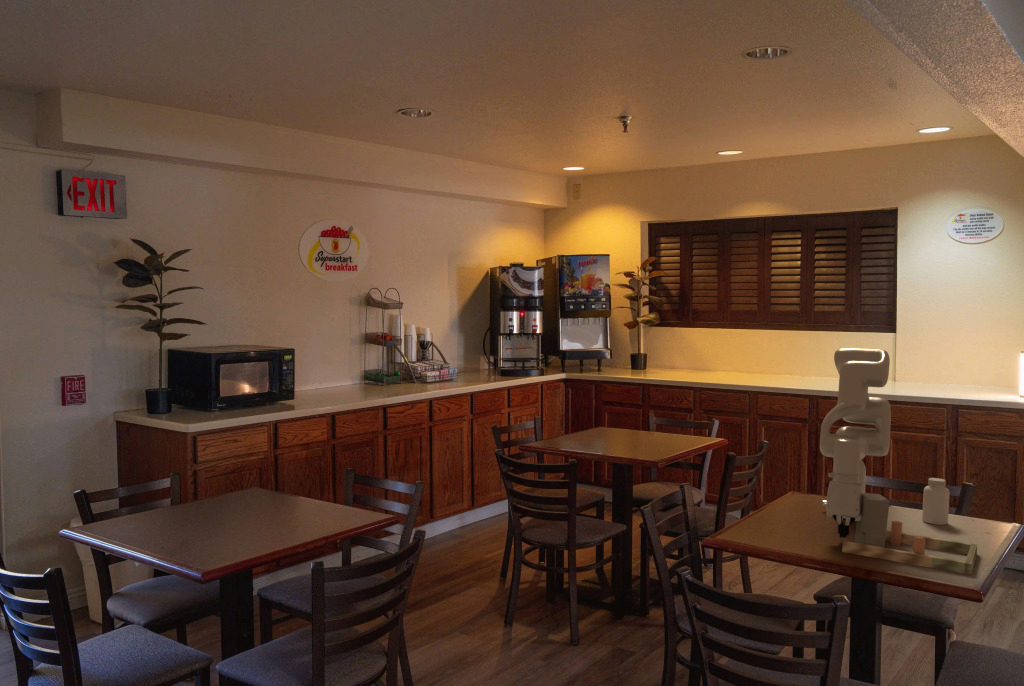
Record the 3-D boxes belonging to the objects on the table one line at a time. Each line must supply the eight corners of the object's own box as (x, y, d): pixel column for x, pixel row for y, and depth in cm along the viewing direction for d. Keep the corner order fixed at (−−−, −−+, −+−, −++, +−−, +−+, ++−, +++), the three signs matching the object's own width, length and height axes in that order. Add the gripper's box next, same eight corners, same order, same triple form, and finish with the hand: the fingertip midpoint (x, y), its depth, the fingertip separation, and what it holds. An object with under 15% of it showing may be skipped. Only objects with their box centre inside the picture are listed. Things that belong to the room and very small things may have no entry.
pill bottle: (927, 524, 274) (929, 481, 274) (918, 518, 282) (920, 476, 282) (952, 526, 273) (954, 482, 273) (942, 519, 281) (944, 477, 281)
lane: (842, 551, 240) (842, 541, 240) (857, 534, 259) (857, 525, 259) (971, 574, 222) (971, 564, 222) (976, 554, 241) (977, 544, 241)
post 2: (911, 561, 232) (913, 537, 232) (913, 559, 235) (914, 535, 234) (923, 563, 230) (924, 539, 230) (924, 561, 233) (925, 537, 233)
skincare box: (854, 542, 251) (856, 491, 250) (878, 543, 250) (880, 493, 250) (863, 550, 243) (865, 498, 242) (887, 551, 242) (890, 499, 241)
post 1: (889, 544, 249) (890, 522, 249) (891, 542, 252) (892, 520, 251) (900, 546, 247) (901, 523, 247) (901, 544, 250) (902, 521, 250)
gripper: (818, 477, 251) (815, 535, 252) (869, 483, 243) (866, 543, 243) (823, 473, 257) (821, 530, 258) (873, 480, 249) (871, 538, 250)
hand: (843, 536), depth 251 cm, fingers closed
